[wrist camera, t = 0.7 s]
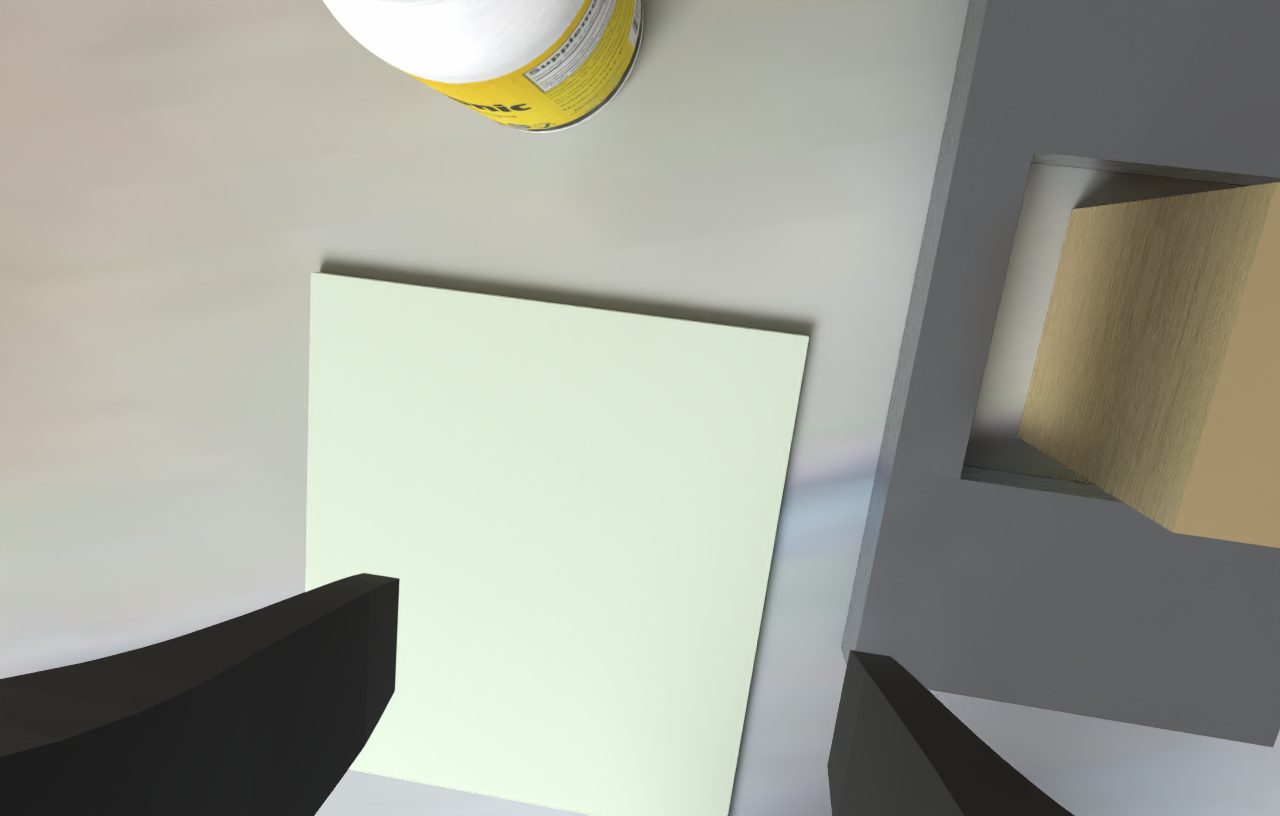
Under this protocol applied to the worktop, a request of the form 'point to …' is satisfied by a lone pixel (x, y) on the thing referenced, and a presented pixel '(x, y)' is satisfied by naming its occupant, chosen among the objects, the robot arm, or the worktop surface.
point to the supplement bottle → (507, 52)
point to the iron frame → (954, 366)
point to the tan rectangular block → (1169, 360)
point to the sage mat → (552, 534)
